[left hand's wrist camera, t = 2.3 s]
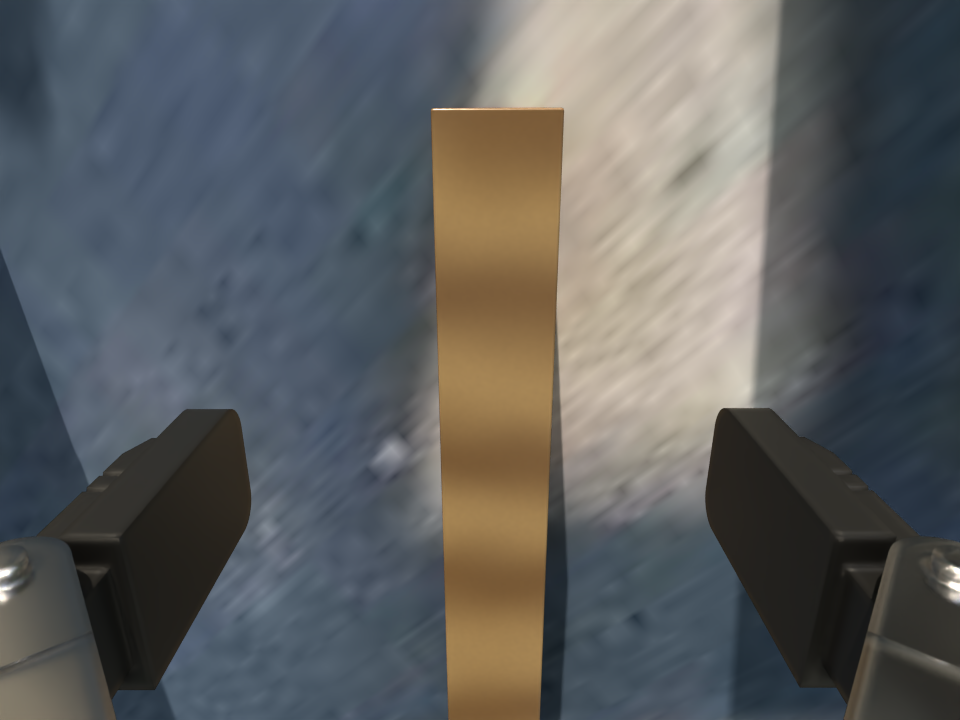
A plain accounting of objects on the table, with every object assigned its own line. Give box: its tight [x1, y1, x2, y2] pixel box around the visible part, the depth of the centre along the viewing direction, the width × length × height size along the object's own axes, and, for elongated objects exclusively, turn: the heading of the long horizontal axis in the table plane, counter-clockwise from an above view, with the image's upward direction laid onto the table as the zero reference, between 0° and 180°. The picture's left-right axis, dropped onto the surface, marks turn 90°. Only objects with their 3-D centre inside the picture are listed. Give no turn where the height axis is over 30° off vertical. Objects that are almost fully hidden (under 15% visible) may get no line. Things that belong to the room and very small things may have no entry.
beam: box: [431, 108, 564, 720], centre depth 38 cm, size 60×5×6 cm, turn 0°
